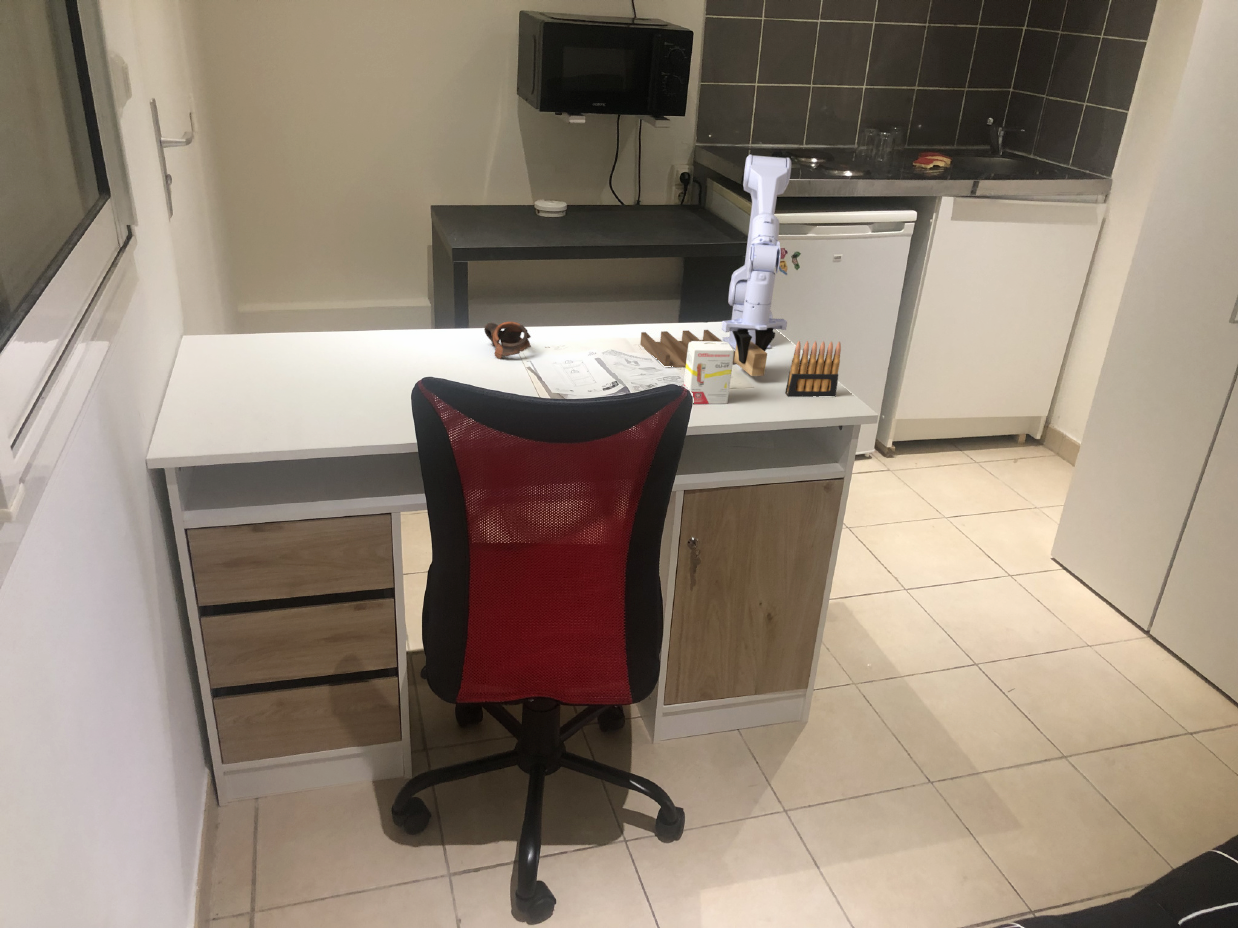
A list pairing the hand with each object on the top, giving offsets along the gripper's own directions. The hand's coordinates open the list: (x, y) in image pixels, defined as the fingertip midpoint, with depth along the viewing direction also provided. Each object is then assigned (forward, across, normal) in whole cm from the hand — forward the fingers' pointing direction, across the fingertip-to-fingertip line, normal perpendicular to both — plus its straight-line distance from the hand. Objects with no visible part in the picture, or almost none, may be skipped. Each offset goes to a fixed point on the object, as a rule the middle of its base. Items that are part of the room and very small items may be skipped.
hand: (749, 361), depth 207 cm
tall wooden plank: (+2, 0, 0) cm, 2 cm away
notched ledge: (+4, -8, +16) cm, 18 cm away
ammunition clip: (+4, +9, -12) cm, 16 cm away
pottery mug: (+4, -49, +22) cm, 54 cm away
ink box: (+4, -15, -11) cm, 19 cm away
